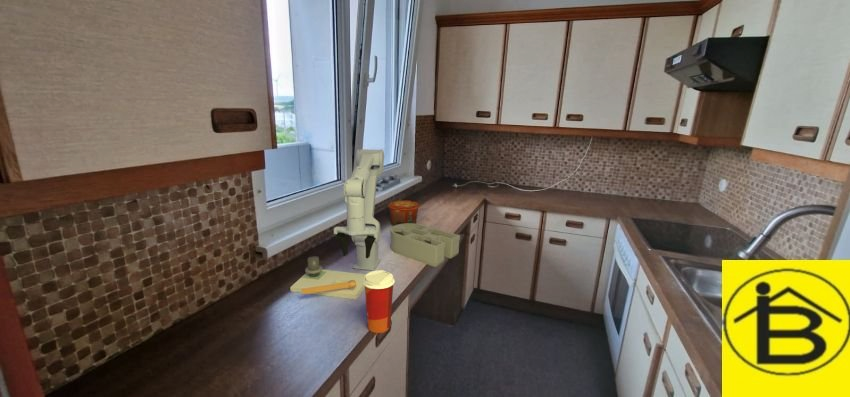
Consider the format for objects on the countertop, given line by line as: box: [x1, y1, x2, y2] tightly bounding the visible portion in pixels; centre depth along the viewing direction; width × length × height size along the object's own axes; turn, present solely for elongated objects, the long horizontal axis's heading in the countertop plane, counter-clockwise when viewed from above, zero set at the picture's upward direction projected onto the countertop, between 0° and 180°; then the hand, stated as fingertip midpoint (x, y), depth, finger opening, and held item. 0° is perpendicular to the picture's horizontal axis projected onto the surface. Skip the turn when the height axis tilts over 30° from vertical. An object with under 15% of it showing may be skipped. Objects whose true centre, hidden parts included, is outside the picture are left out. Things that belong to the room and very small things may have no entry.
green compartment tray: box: [389, 223, 461, 268], centre depth 146 cm, size 17×28×9 cm, turn 53°
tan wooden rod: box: [301, 280, 356, 295], centre depth 109 cm, size 2×16×1 cm, turn 112°
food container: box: [387, 199, 420, 227], centre depth 181 cm, size 16×16×11 cm
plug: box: [305, 255, 324, 277], centre depth 120 cm, size 6×6×6 cm
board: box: [289, 269, 367, 300], centre depth 117 cm, size 14×22×2 cm, turn 80°
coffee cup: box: [363, 269, 396, 334], centre depth 94 cm, size 8×8×15 cm
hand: (356, 256), depth 115 cm, fingers open, 7 cm apart
